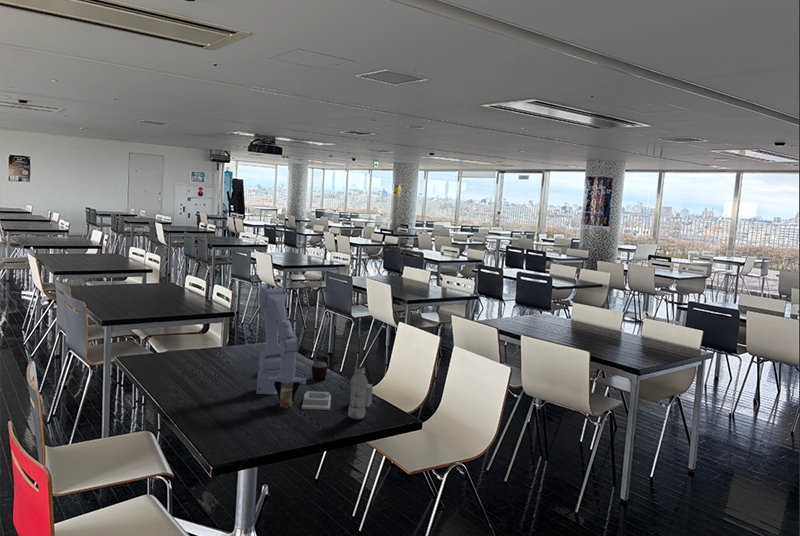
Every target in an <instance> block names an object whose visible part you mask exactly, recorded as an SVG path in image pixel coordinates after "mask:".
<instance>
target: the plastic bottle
mask: <svg viewBox="0 0 800 536" xmlns="http://www.w3.org/2000/svg"><path fill="white" fill-rule="evenodd" d="M365 373H366V371H365V367H363V366H356V367H354V374H353V376H351V379H350V399H349V400H350V401H349V406H348V409H347V412H348V413H347V414H348V417H349V419H353V420H361V419H364V417H365V415H366V407H365V393H366V388H367V384H369V381H368V378H367V377H366V375H365Z"/></svg>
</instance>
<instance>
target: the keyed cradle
mask: <svg viewBox="0 0 800 536" xmlns="http://www.w3.org/2000/svg"><path fill="white" fill-rule="evenodd" d="M331 400H332V394H330V391H311V390H309V391H308V390H307V391H305V393H304V395H303V400H302V404H301V409H302V410H319V411H321V410H324V411H330V410H331Z"/></svg>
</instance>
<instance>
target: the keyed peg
mask: <svg viewBox="0 0 800 536" xmlns="http://www.w3.org/2000/svg"><path fill="white" fill-rule="evenodd" d="M292 394H293V388H281V392H280V401H279V407H280V408H282V409H288V408H292V406H293V402H292Z"/></svg>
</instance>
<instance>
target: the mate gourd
mask: <svg viewBox="0 0 800 536" xmlns="http://www.w3.org/2000/svg"><path fill="white" fill-rule="evenodd" d="M309 350H310V351H311V352H312V353H313V356H314V360H315V361H313V363H312V365H311V376H312V377H311V379H312V380H316V382H319V381H320V380H322V381H326V380H327V379H326V377H327V373H328V364H327V362H326V361H324V360H317V358H316V352H315V350H313V349H311V348H310V349H309Z"/></svg>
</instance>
